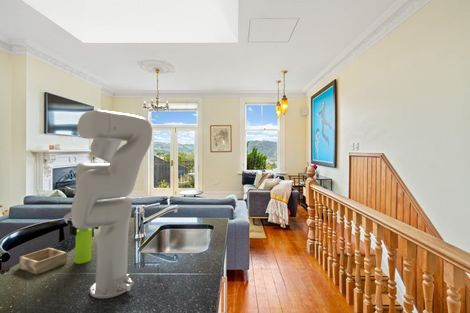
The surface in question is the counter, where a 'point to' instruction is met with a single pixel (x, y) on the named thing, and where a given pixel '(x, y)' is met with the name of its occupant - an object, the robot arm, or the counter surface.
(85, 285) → the counter surface
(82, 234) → the soap dispenser
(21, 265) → the box
